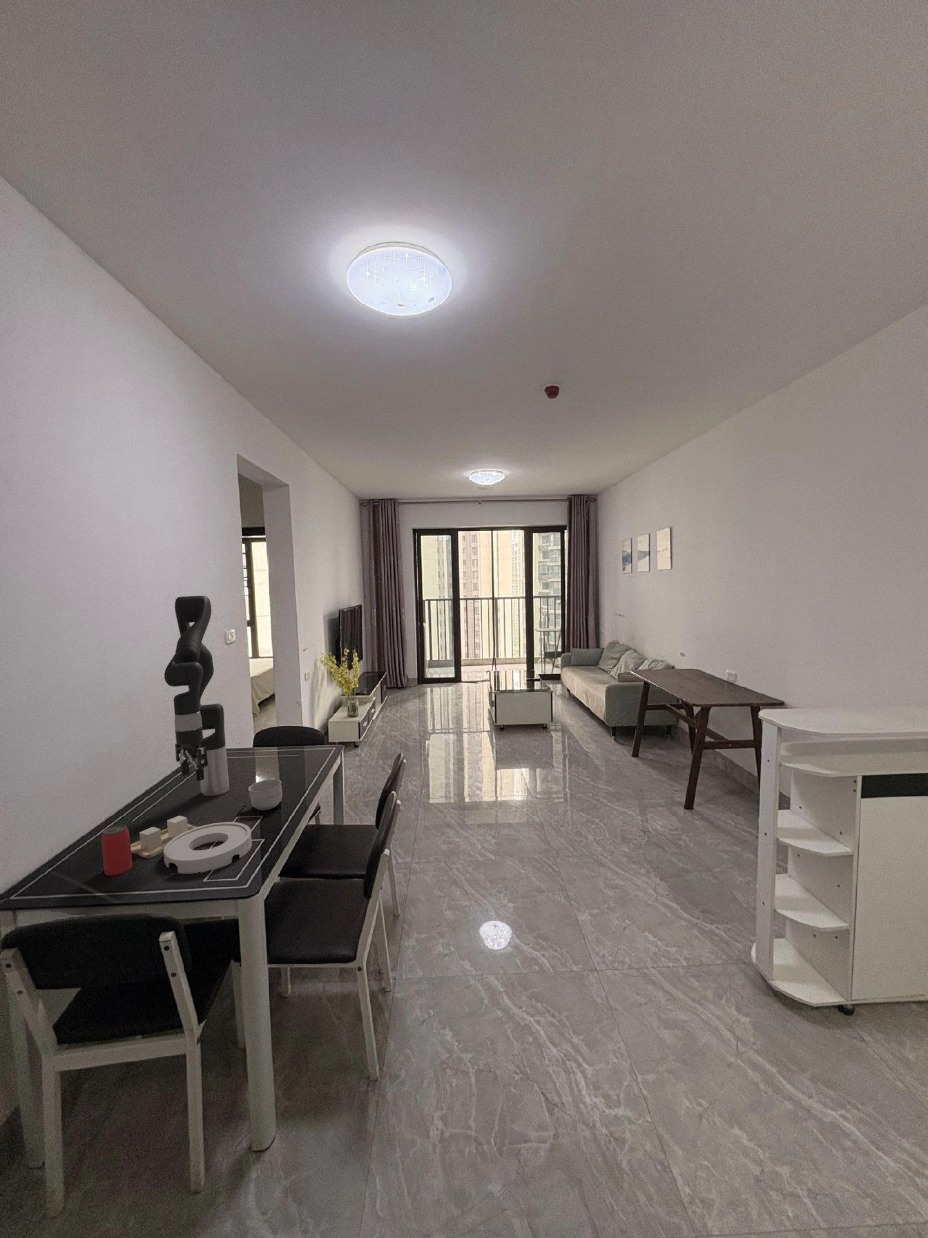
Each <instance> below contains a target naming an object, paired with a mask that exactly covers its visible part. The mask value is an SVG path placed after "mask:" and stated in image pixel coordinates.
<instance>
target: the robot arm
mask: <svg viewBox="0 0 928 1238" xmlns="http://www.w3.org/2000/svg"><path fill="white" fill-rule="evenodd" d="M174 612H175V618H176V621H177V626H178V632H179V635H180V637H179V638H178V640H177V642H176V648H175V653H174V655H173V656H172V658H171V660H170V662H168V664H167V665H166V667H165V671H164V674H163V676H164V677H163V679H164V681H165V683H166V685H168V686H169V687H174V688H175V687H184V686H185V687H187V688H188V691H185V692H182V693H178V694H175V696H174V697H173V709H174V710H173V711H174V731H175V732H174V733H175V744H174V745H175V747H174V748H175V761H176V762H177V763H179V765H180V772H181V776H182V777H187V776H189V775H190V764H189V762H190V763H191V764H192V765H193V767H194V769H195V770H194V771H195V780H196V781H197V782H199V783H200V793H202V796H206V797H212V796H213V797H214V796H219V795H222V794H225V793H227V792H228V791H229V790H230V783H229V781H230V780H229V770H228V769H229V768H228V756H227V755H228V754H227V746H226V734H225V731H226V730H225V711H224V710H225V709H224V707H223V705H222V704H221V703H211V704H201V699H202V696H203V695H204V694H203V693H204V692H205V690H206V688H207V686H208V685H209V683H210V681H211V680H212V678H213V676H214V673H215V671H214V670H215V669H214V661H213V655H212V653H211V651H210V650H209V648H207V646H206V645H204V643H203V639H204V636H205V633H206V632H207V629H208V626H209V623H210V620H211V617H212V603H211V600H210V598H209V597H208V596H206V595H187V596H184V595H183V596H178V597H177V598H175V602H174ZM191 623H193V624H192V625H190V624H191ZM208 730H214V732H213V733H211V734H210V735H208V736H206V737H204V733H203V731H208Z"/></svg>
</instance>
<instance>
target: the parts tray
mask: <svg viewBox="0 0 928 1238" xmlns="http://www.w3.org/2000/svg"><path fill="white" fill-rule="evenodd" d="M197 827H198V826H196V825H192V824H189V823H188V831H189V830H191V829H194V828H197ZM172 839H173V838H172V837H169V836H168V827H167V828H166V829H163V830H161V840H162V846H160V847H158V848H155V849H153V850H151V851H146V850H143V849H141V844H140V840H137V841H135V842H133V843H130V844H131V854H135V855H137V856H140V857H142V858H145V859H150V858H153V857H155V856H158V855H159V854H161V853H164V847H165V846H166V845H167V843H168V842H169V841H171V840H172Z"/></svg>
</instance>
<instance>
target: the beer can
mask: <svg viewBox="0 0 928 1238" xmlns="http://www.w3.org/2000/svg"><path fill="white" fill-rule="evenodd" d="M130 836H131V835H130V831H129V829H128V827H127V825H126V824H115V825H112V826H109V827H107V828H106V829H104V830H103V831H102V835H101V849H102V859H103V860H102V861H103V869H104V875H106V876H117V875H120V874H123V873H126V872H128V871H129V870H131V869H132V868H133V857H132V854H133V853H132V852H131V844H132V843H131V837H130Z"/></svg>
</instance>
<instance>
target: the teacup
mask: <svg viewBox="0 0 928 1238" xmlns="http://www.w3.org/2000/svg"><path fill="white" fill-rule="evenodd" d="M247 789H248V794H249V799H250V803H251V804H250V805H252V807H253V808H255V809H257V810H258V811H269V810H272V809H273V808H275V807H277V806H278V805H279V803H281V801H282V799H283V789H282V780H280V779H278V778H277V779H276V777H270V779H264V780H260V781H258V782H255V783H252V784H251V785H249V787H248V788H247Z"/></svg>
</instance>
